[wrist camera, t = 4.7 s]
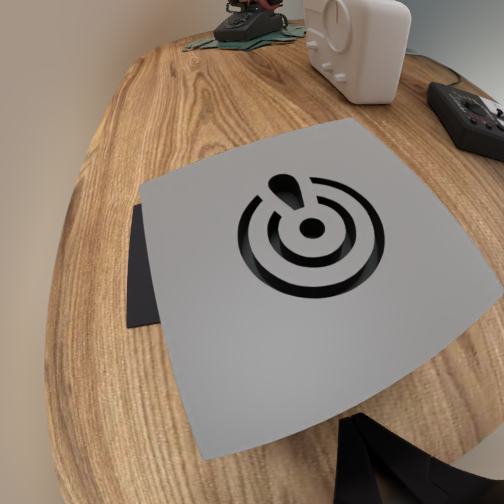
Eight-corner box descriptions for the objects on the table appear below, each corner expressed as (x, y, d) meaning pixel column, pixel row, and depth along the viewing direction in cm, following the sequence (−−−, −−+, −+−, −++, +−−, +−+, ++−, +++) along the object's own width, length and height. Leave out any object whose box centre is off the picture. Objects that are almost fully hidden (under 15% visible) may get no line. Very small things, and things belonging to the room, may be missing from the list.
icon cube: (204, 290, 19) (139, 185, 10) (334, 238, 20) (351, 117, 11) (255, 431, 13) (203, 461, 5) (405, 359, 14) (505, 291, 6)
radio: (297, 62, 41) (283, -57, 20) (339, 60, 40) (333, -54, 20) (348, 115, 29) (343, -79, 8) (403, 114, 28) (414, -60, 7)
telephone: (248, 24, 71) (240, -23, 54) (332, 30, 58) (329, -27, 42) (172, 53, 58) (155, -6, 42) (267, 53, 45) (255, -30, 29)
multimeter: (424, 99, 31) (429, 72, 26) (509, 127, 27) (517, 105, 23) (456, 149, 24) (468, 116, 20) (544, 178, 20) (557, 155, 16)
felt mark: (164, 321, 18) (163, 320, 18) (127, 328, 18) (126, 327, 18) (162, 198, 24) (161, 196, 24) (134, 207, 24) (133, 205, 24)
